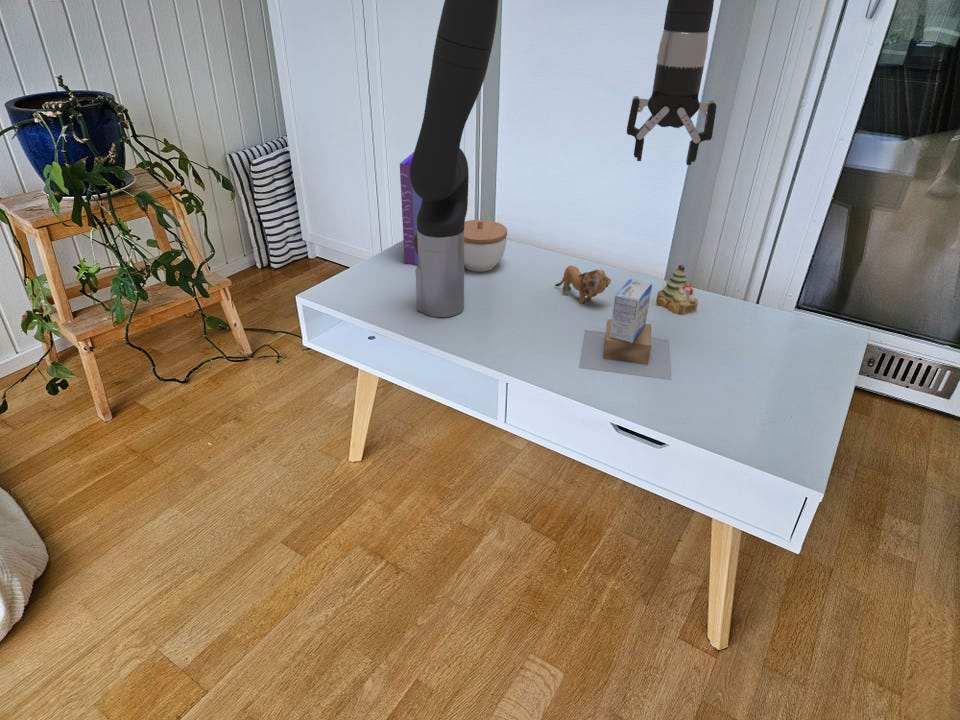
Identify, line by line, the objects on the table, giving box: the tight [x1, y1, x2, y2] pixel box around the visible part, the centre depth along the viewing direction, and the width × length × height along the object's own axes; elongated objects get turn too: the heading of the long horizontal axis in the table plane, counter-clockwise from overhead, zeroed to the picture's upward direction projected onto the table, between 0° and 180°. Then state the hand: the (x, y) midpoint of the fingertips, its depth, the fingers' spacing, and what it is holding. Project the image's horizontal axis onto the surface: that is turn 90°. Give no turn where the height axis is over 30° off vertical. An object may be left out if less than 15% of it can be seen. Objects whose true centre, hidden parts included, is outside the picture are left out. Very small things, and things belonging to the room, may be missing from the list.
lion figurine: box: [554, 265, 612, 305], centre depth 135 cm, size 15×5×9 cm, turn 37°
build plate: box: [578, 329, 673, 381], centre depth 117 cm, size 16×14×1 cm
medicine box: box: [610, 278, 653, 343], centre depth 114 cm, size 8×4×9 cm, turn 151°
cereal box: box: [399, 152, 422, 267], centre depth 152 cm, size 17×5×24 cm, turn 167°
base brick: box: [603, 318, 652, 365], centre depth 117 cm, size 8×8×4 cm
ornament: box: [655, 264, 699, 316], centre depth 131 cm, size 8×6×10 cm
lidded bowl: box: [464, 219, 508, 273], centre depth 149 cm, size 13×13×11 cm
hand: (663, 162), depth 112 cm, fingers open, 8 cm apart
